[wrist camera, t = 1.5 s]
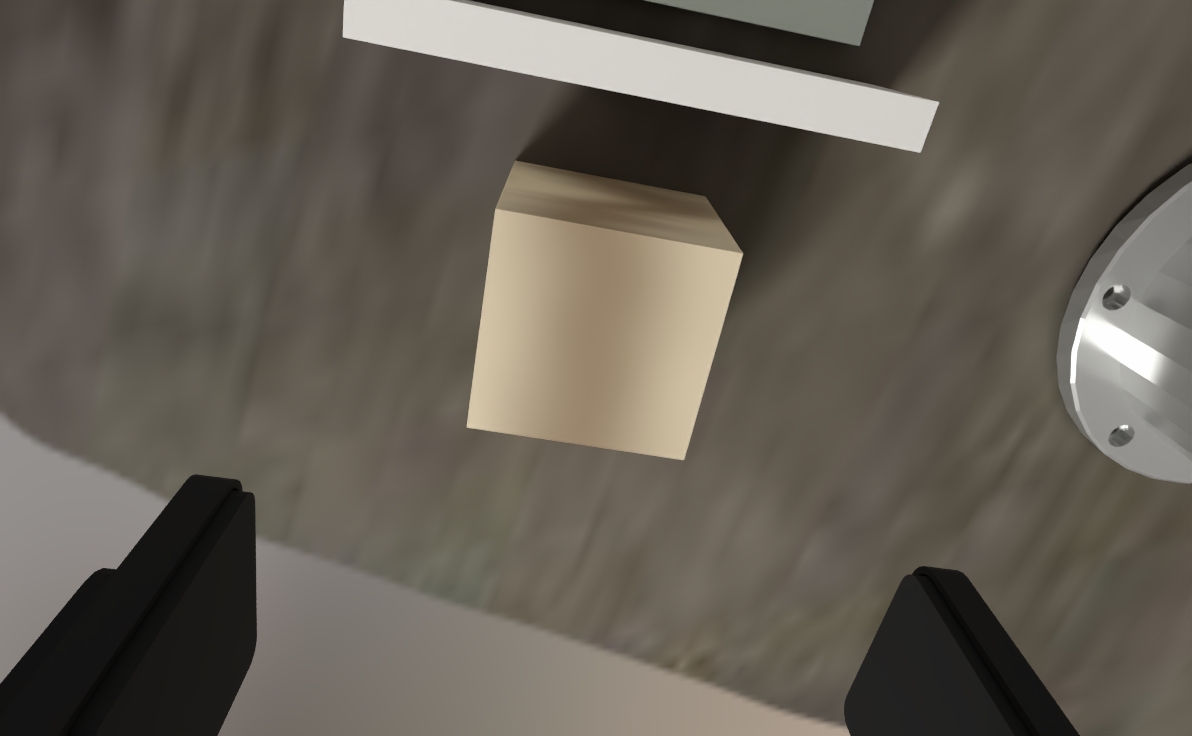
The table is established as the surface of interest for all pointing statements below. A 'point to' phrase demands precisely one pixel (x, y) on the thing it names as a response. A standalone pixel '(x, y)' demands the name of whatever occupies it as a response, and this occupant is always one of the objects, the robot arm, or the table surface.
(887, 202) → the table surface
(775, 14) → the sage pad
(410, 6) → the cream screen
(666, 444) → the maple cube
